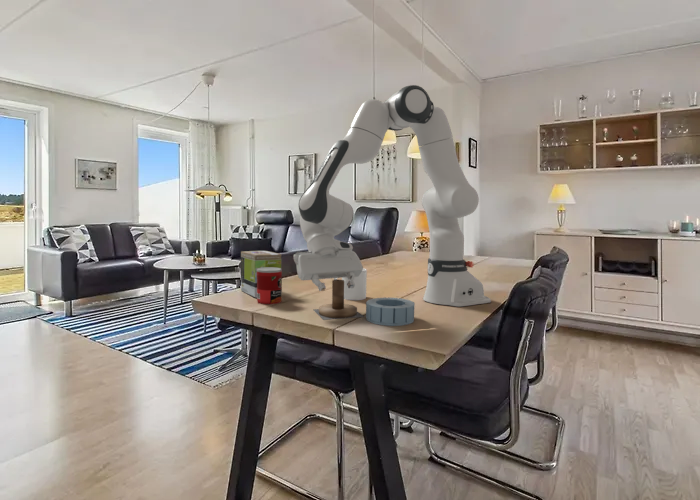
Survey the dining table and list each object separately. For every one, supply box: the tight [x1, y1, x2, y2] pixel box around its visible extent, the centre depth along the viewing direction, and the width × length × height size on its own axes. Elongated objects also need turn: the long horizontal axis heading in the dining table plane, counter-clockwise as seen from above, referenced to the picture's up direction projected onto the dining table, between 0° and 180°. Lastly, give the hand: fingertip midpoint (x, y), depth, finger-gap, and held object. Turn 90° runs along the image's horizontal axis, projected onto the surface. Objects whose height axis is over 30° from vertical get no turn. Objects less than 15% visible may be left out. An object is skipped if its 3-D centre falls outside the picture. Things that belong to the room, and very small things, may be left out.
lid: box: [318, 279, 358, 319], centre depth 121 cm, size 11×11×10 cm
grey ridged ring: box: [365, 296, 416, 327], centre depth 115 cm, size 13×13×5 cm
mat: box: [313, 308, 365, 321], centre depth 121 cm, size 12×12×1 cm
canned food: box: [256, 267, 283, 305], centre depth 134 cm, size 8×8×11 cm
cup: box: [333, 267, 368, 301], centre depth 143 cm, size 8×12×10 cm
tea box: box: [240, 250, 282, 299], centre depth 149 cm, size 15×10×15 cm, turn 33°
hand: (337, 288), depth 120 cm, fingers open, 8 cm apart
